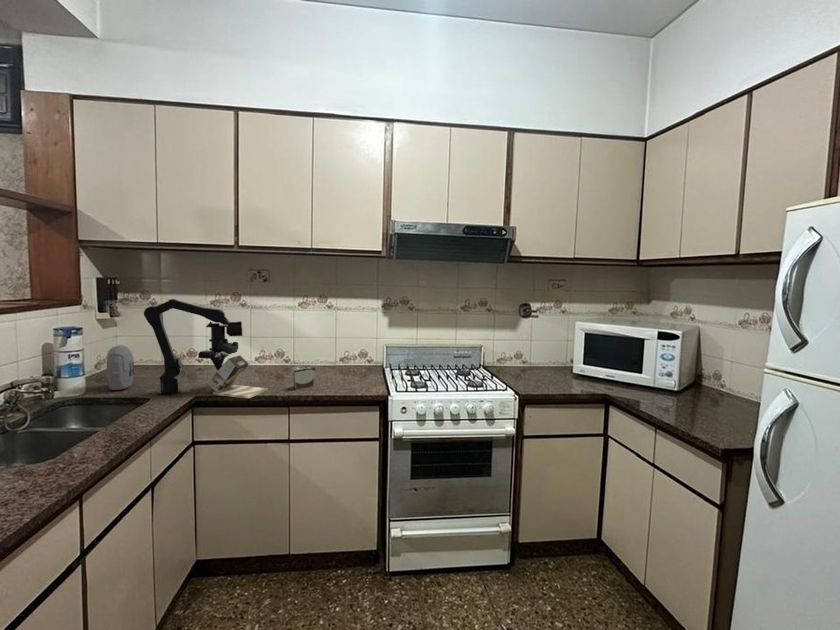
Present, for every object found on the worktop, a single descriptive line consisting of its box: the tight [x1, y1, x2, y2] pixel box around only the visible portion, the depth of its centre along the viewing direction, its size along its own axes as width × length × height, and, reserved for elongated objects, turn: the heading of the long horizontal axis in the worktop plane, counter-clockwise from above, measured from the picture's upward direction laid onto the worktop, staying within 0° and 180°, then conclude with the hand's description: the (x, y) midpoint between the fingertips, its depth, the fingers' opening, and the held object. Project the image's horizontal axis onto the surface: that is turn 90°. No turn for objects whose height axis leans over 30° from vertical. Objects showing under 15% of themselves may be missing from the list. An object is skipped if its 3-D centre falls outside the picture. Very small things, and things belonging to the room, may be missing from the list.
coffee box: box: [207, 355, 250, 392], centre depth 193 cm, size 9×6×16 cm
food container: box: [291, 364, 317, 391], centre depth 203 cm, size 12×6×10 cm, turn 134°
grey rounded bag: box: [105, 344, 135, 391], centre depth 192 cm, size 15×8×20 cm, turn 15°
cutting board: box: [212, 384, 269, 400], centre depth 191 cm, size 18×14×1 cm
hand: (218, 370), depth 194 cm, fingers closed
